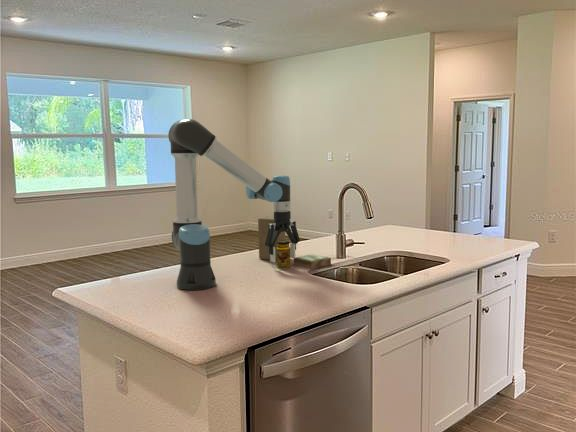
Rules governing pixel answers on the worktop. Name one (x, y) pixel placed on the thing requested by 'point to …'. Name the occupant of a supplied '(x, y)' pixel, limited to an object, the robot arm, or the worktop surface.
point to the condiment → (283, 255)
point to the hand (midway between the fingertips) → (283, 259)
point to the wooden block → (263, 233)
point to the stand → (312, 261)
